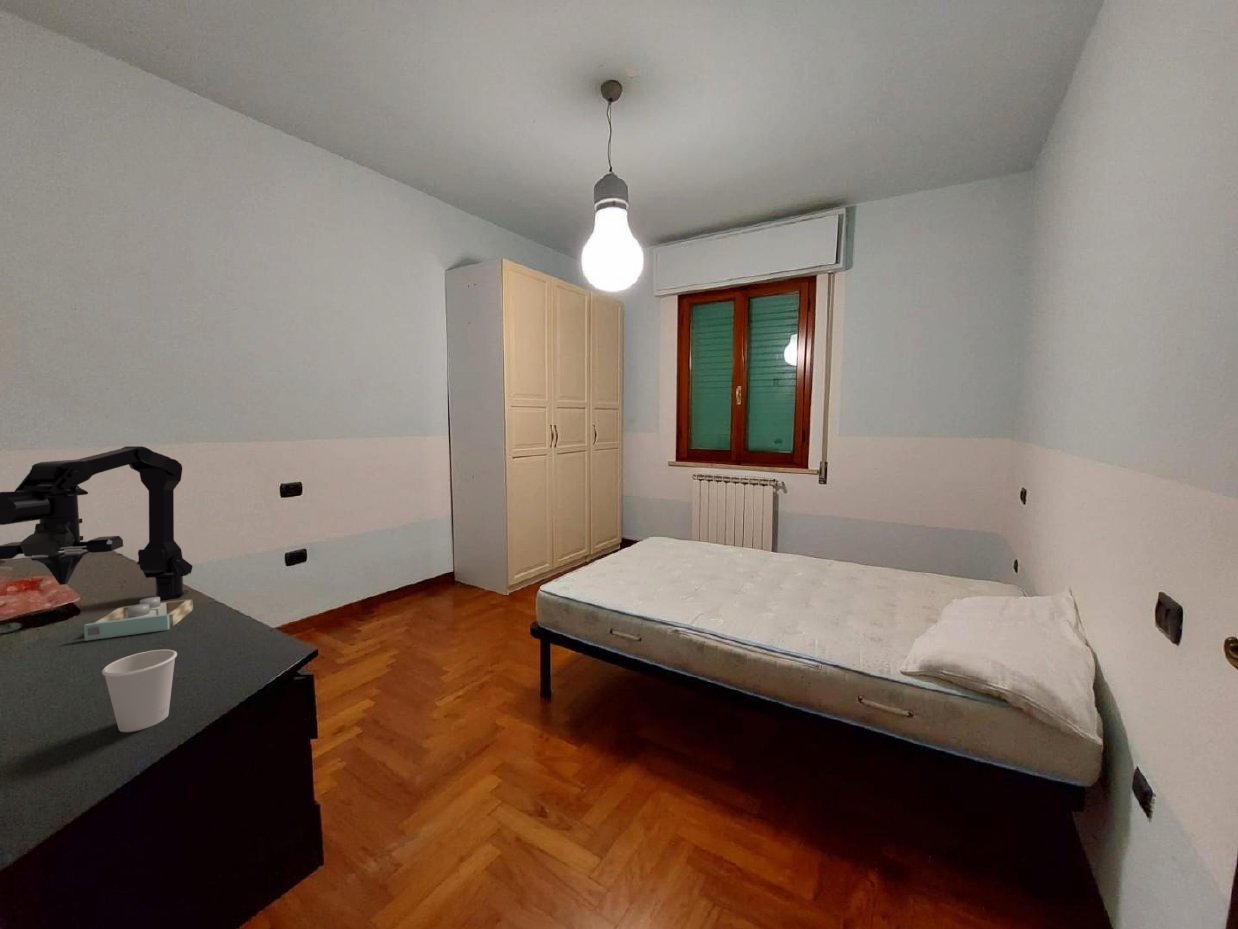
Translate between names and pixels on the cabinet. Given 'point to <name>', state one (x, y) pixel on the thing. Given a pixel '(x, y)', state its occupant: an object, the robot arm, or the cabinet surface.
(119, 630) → the panel
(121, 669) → the dixie cup
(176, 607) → the housing
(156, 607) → the jaw
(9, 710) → the cabinet surface
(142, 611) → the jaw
